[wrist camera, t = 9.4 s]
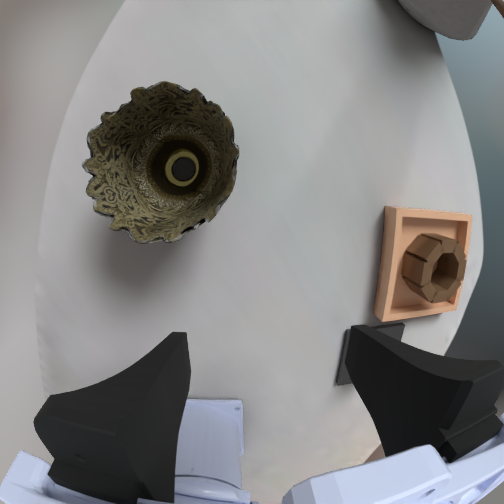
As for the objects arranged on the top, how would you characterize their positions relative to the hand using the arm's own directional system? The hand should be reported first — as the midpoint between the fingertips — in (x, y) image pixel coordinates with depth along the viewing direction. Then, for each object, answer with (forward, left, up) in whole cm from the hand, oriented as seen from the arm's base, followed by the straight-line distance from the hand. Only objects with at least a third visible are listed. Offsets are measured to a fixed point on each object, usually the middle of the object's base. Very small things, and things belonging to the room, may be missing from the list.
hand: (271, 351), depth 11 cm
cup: (+8, +5, -10) cm, 14 cm away
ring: (+1, -15, -9) cm, 18 cm away
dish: (+1, -15, -10) cm, 18 cm away
